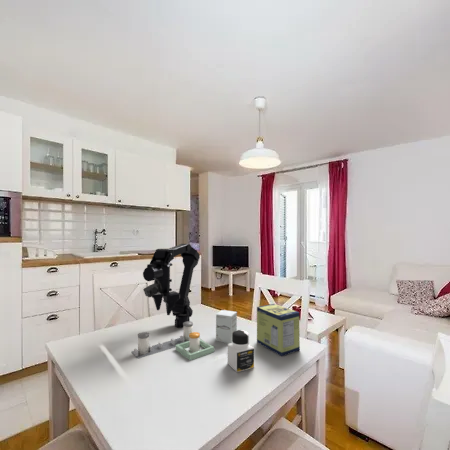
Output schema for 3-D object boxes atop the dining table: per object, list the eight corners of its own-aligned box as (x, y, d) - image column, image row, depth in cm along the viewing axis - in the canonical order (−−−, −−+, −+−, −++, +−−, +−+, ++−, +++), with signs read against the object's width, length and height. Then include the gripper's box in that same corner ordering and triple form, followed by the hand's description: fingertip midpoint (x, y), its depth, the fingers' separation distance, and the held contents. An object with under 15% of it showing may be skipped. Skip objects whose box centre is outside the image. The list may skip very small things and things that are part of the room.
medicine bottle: (236, 372, 88) (237, 337, 89) (227, 363, 95) (227, 330, 95) (254, 367, 92) (254, 333, 92) (243, 359, 98) (243, 327, 98)
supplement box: (215, 343, 111) (215, 314, 112) (221, 337, 118) (222, 309, 119) (231, 346, 109) (231, 316, 109) (237, 339, 115) (237, 311, 116)
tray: (198, 345, 110) (198, 337, 110) (214, 354, 101) (214, 346, 101) (175, 352, 103) (175, 344, 103) (190, 363, 94) (190, 355, 94)
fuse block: (190, 337, 118) (190, 319, 118) (199, 342, 112) (199, 323, 112) (130, 354, 101) (131, 333, 101) (137, 362, 95) (137, 339, 95)
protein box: (273, 337, 118) (273, 303, 119) (300, 350, 105) (300, 312, 106) (256, 342, 113) (256, 306, 113) (281, 357, 100) (281, 316, 100)
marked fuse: (196, 348, 105) (196, 331, 105) (201, 352, 102) (201, 334, 102) (187, 351, 102) (187, 333, 102) (192, 355, 99) (192, 337, 99)
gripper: (136, 276, 116) (136, 311, 116) (156, 282, 102) (156, 322, 102) (159, 273, 123) (159, 306, 123) (180, 279, 110) (180, 316, 109)
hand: (163, 312), depth 114 cm, fingers open, 9 cm apart
